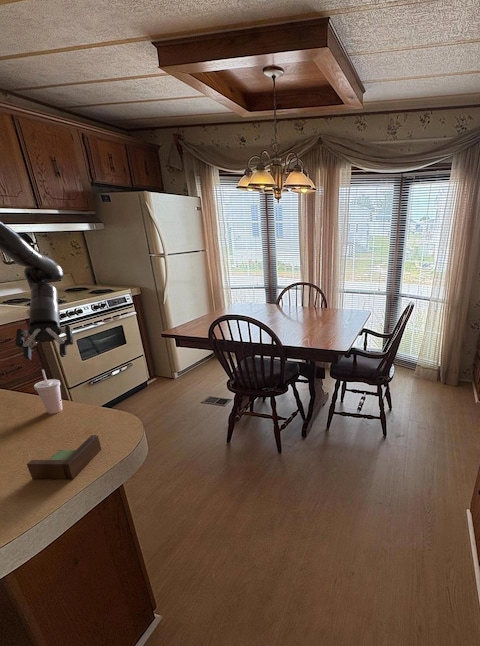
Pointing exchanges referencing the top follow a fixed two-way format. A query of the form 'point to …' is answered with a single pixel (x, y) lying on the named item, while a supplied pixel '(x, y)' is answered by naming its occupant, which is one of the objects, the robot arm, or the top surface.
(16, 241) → the robot arm
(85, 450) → the corner guide
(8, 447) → the top surface
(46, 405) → the smoothie
